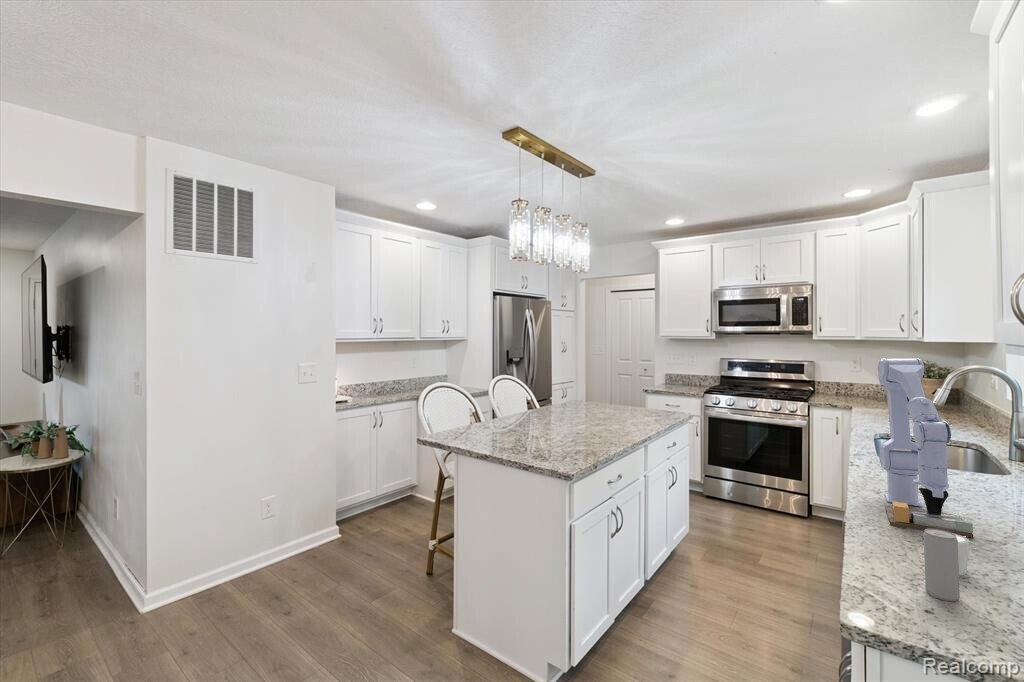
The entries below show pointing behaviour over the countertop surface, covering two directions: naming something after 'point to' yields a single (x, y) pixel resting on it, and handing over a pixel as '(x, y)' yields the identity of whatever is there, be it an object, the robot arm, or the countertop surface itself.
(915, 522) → the tong board
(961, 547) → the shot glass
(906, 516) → the collar
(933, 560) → the beverage can
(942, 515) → the tong arm
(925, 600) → the countertop surface
